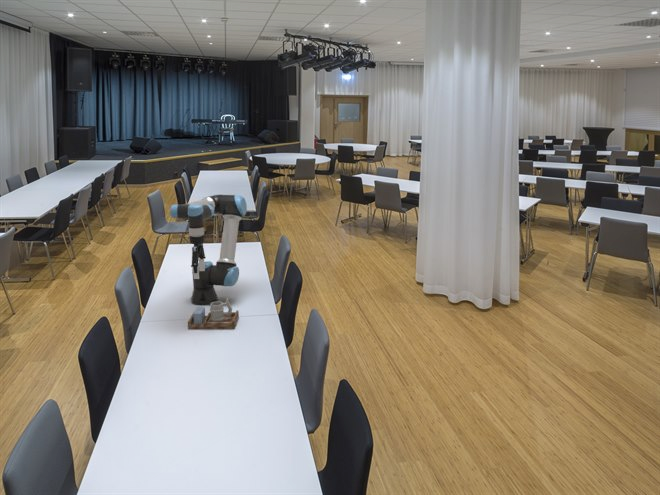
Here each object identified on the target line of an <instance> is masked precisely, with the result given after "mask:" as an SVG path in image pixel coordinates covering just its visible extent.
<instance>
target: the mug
mask: <svg viewBox="0 0 660 495" xmlns="http://www.w3.org/2000/svg"><path fill="white" fill-rule="evenodd" d="M209 305H210V306H209V307H210V308H209V312H211V317H210V320H211V322H223V321H224V319H225V316H228V317H229V318H230V316H231V314H232V312H233V308H232V305H231V303H230V301H229V298H228V297H227V298H226V300H225V302H222V301H218V300H217V301H216V302H212V303H211V304H209ZM224 306H226V307H227V308H228V309H227V310H228V311H226V312H227V313H226V312H225V308H224Z"/></svg>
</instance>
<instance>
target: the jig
mask: <svg viewBox="0 0 660 495" xmlns="http://www.w3.org/2000/svg"><path fill="white" fill-rule="evenodd" d="M227 312H228V311H226V313H227ZM210 317H211V311H209V312H208V313H207V315H205V319H204V321H203V323H202V324H194V316H193V313H192V314H191V315H190V318H189V319H188V321H187V330H235V329H236V327H237V324H238V322H239V319H240V317H239V310H235V311H232V314H231V316H230V318H229V317H228V316H225V319H224V321H223V322H211V320H210Z"/></svg>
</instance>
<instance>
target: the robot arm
mask: <svg viewBox="0 0 660 495" xmlns="http://www.w3.org/2000/svg"><path fill="white" fill-rule="evenodd" d="M247 207H248V206H247V201H246V199H245V197H244V196H243V195H240V194H239V195H238V194H214V195H210V196H207V197H203V198H202V199H201V200H197V201H196V200H195V201H192V202H187V203H184V204H183V203H182V204H172V205H171V206H170V209H169V214H170V217H171V218H172V219H177V220H188V235H189V243H190V244H193V246H192V248H191V249H192V250H191V264H190V267H191V268H192V270H191V271H192V272H191V273H192V283H193V285H192V286H193V290H192V293H191V297H190V301H191V303H192V304H193V305H196V306H207V305H210V304H211V303H212V302H217V301H218V294H217V292H216V289H215V287H214V286H217V287H218V286H221V287H233V286H235V285H236V283H238V281H239V277H240V268H239V267H238V266H237V262H235V256H236V252H237V251H236V250H237V244H238V234H239V226H240V221H241V220H242V219H243V216H245V215H247V210H248V209H247ZM216 214H218V215H221V217H222V218H223V219H224V220H223V229H222V237H221V243H220V244H221V245H220V253H219V259H218V260H217V261H216V264H213V262H212V261H205V259H206V255H205V249H204V243H205V242H206V239H205V231H206V229H205V225H204V224H205V223H204V221H208V220H209V219H211V218H213V217H214V215H216Z"/></svg>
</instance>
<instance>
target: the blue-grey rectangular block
mask: <svg viewBox="0 0 660 495" xmlns="http://www.w3.org/2000/svg"><path fill="white" fill-rule="evenodd" d="M192 314H193V316H194V324H202V323H203V321H204V319H205V316H206V307H204V306H203V307H202V306H201V307H196V309H195V310H194V311H193V312H192Z"/></svg>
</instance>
